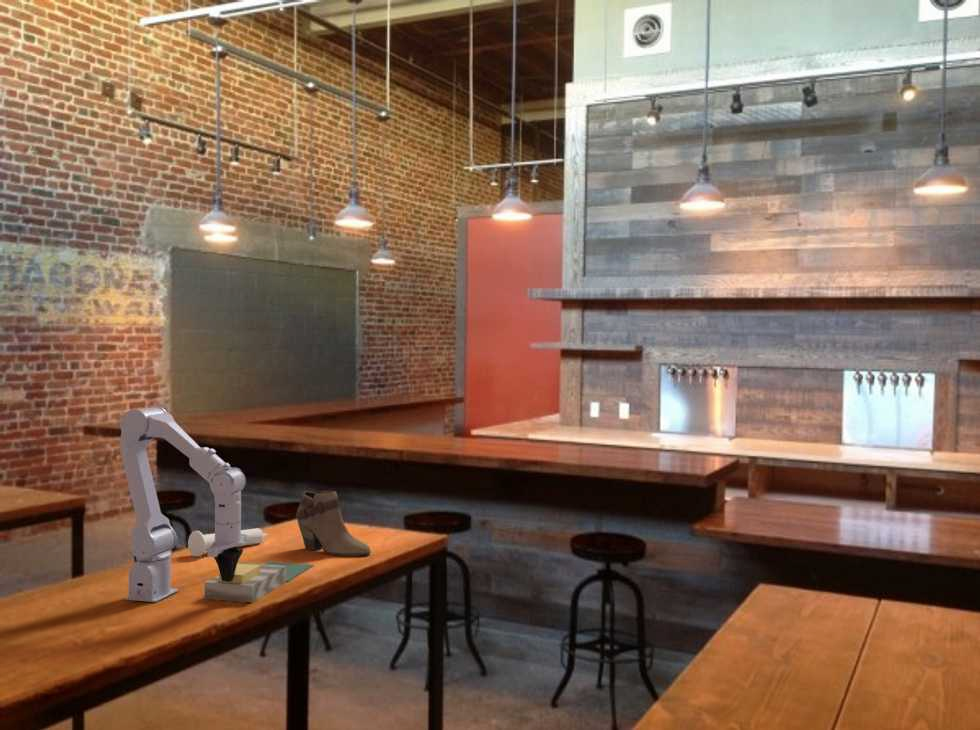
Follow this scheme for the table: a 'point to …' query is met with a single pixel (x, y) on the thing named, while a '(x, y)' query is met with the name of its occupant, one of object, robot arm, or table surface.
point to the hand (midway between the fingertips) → (227, 580)
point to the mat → (291, 568)
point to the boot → (326, 526)
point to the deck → (247, 585)
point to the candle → (203, 542)
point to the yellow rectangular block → (243, 573)
